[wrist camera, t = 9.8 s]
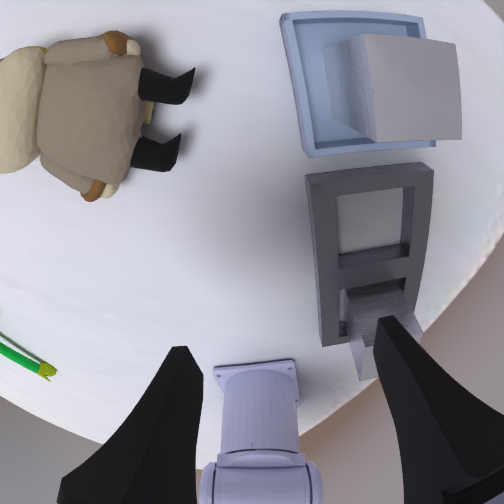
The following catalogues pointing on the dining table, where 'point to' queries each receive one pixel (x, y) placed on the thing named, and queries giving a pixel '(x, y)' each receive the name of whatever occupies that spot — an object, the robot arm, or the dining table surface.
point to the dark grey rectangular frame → (375, 260)
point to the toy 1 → (28, 362)
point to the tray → (315, 82)
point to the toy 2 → (85, 111)
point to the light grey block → (395, 87)
